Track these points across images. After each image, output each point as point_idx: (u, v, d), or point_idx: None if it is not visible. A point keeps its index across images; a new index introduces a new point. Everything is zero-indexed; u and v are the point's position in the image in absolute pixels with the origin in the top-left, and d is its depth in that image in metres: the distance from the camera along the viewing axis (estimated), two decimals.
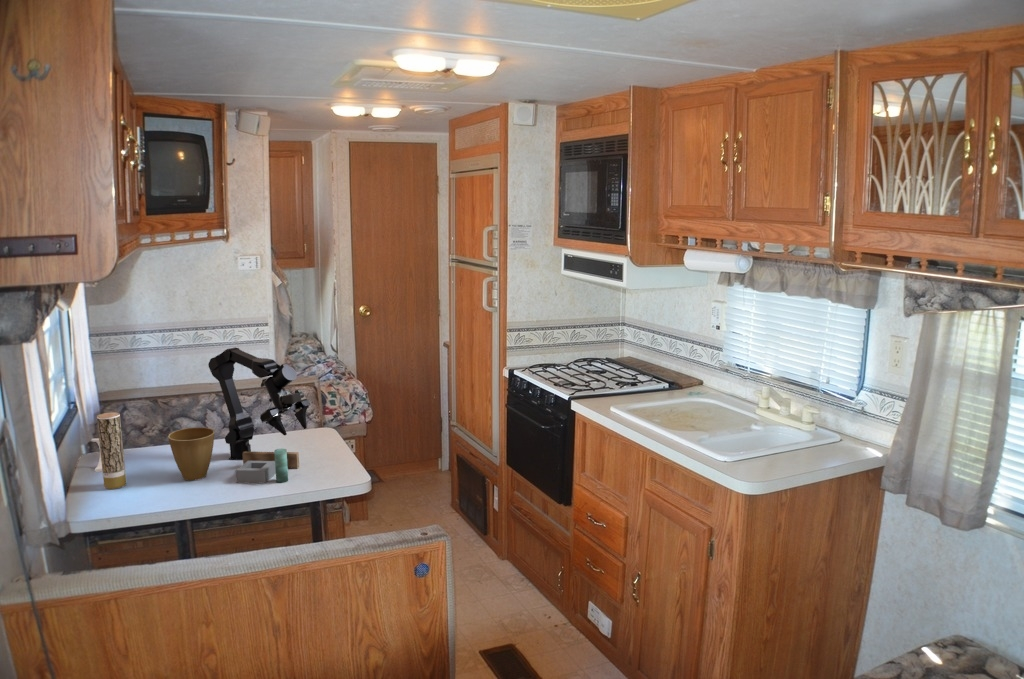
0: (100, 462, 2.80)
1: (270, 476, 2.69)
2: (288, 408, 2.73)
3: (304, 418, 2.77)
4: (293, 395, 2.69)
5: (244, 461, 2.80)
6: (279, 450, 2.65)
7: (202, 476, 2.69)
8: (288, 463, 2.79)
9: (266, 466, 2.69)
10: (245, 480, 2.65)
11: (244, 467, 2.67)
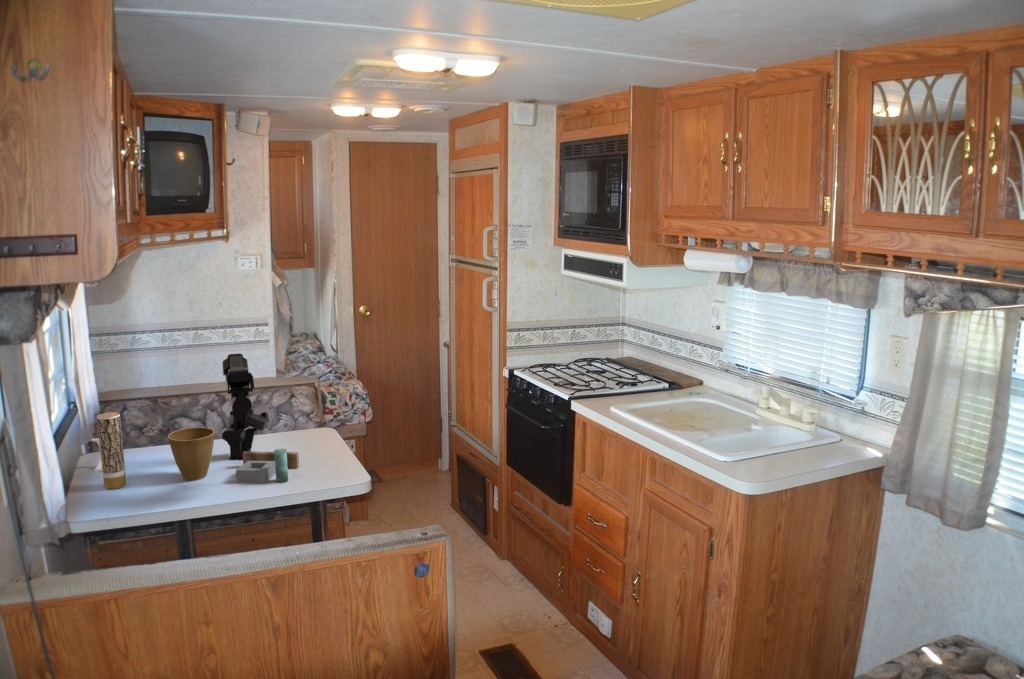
0: (100, 462, 2.80)
1: (270, 476, 2.69)
2: (247, 428, 2.57)
3: (252, 438, 2.62)
4: (265, 422, 2.54)
5: (244, 461, 2.80)
6: (279, 450, 2.65)
7: (202, 476, 2.69)
8: (288, 463, 2.79)
9: (266, 466, 2.69)
10: (245, 480, 2.65)
11: (244, 467, 2.67)
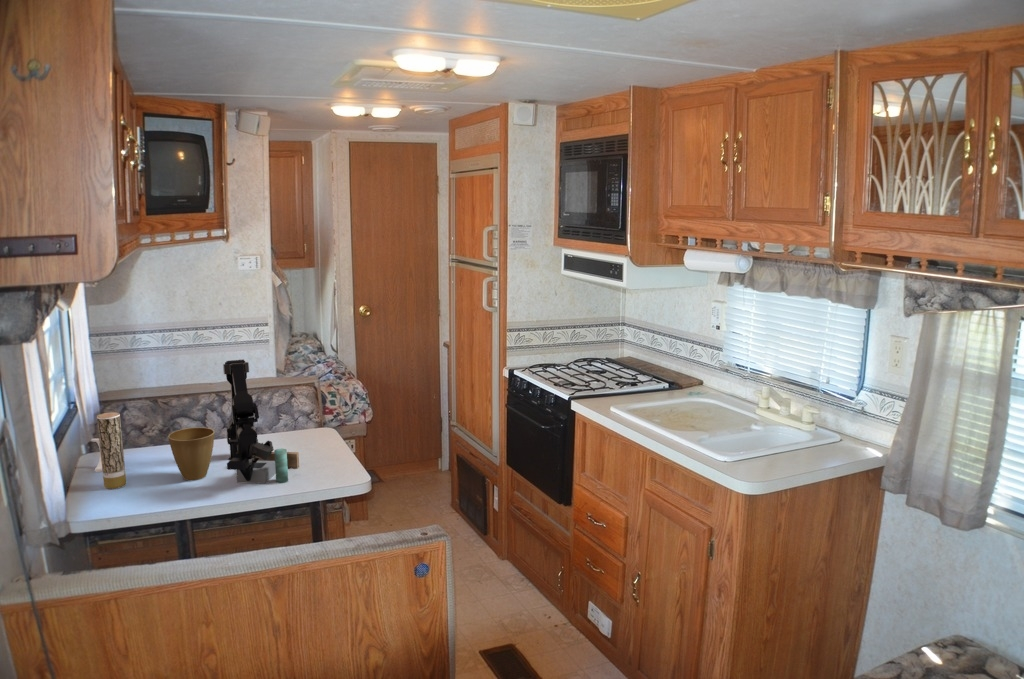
0: (100, 462, 2.80)
1: (270, 476, 2.70)
2: None
3: (251, 470, 2.63)
4: (269, 452, 2.60)
5: None
6: (279, 450, 2.65)
7: (202, 476, 2.69)
8: (288, 463, 2.79)
9: (267, 465, 2.69)
10: (245, 480, 2.65)
11: None
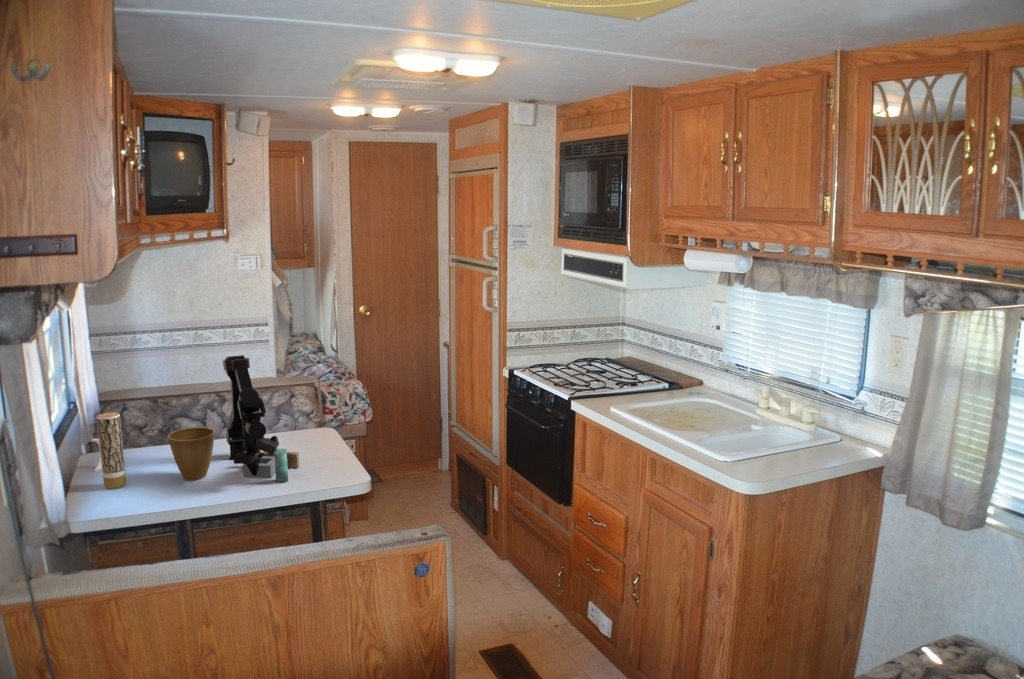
0: (100, 462, 2.80)
1: None
2: None
3: (257, 465, 2.68)
4: (275, 446, 2.65)
5: None
6: (279, 450, 2.65)
7: (202, 476, 2.69)
8: (288, 463, 2.79)
9: (272, 461, 2.74)
10: (251, 475, 2.70)
11: None
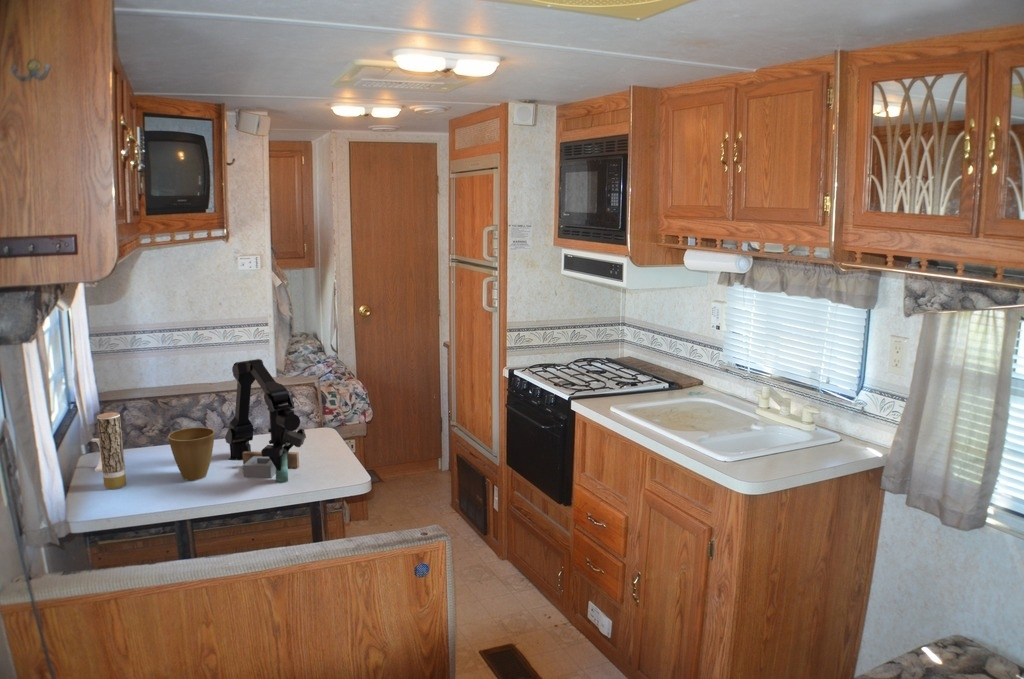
0: (100, 462, 2.80)
1: None
2: None
3: None
4: (302, 439, 2.63)
5: (244, 461, 2.80)
6: None
7: (202, 476, 2.69)
8: (288, 463, 2.79)
9: None
10: (251, 475, 2.70)
11: (250, 462, 2.72)
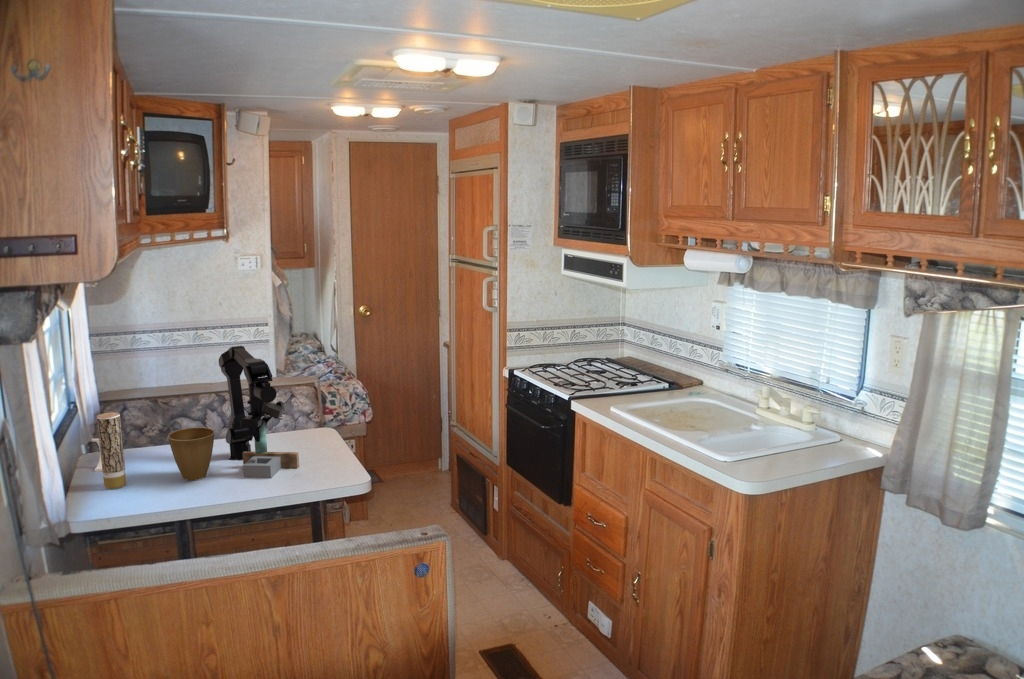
0: (100, 462, 2.80)
1: (276, 471, 2.74)
2: None
3: None
4: (280, 411, 2.69)
5: (244, 461, 2.80)
6: None
7: (202, 476, 2.69)
8: (288, 463, 2.79)
9: (272, 461, 2.74)
10: (251, 475, 2.70)
11: (250, 462, 2.72)
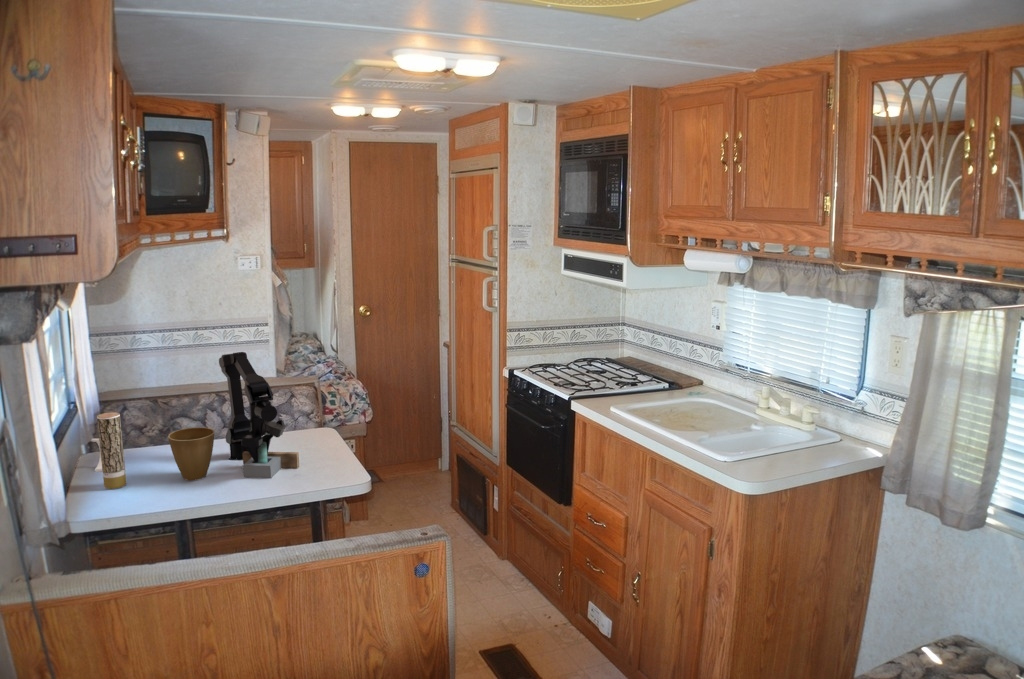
0: (100, 462, 2.80)
1: (276, 471, 2.74)
2: None
3: (268, 444, 2.78)
4: (281, 430, 2.70)
5: (244, 461, 2.80)
6: None
7: (202, 476, 2.69)
8: (288, 463, 2.79)
9: (272, 461, 2.74)
10: (251, 475, 2.70)
11: (250, 462, 2.72)
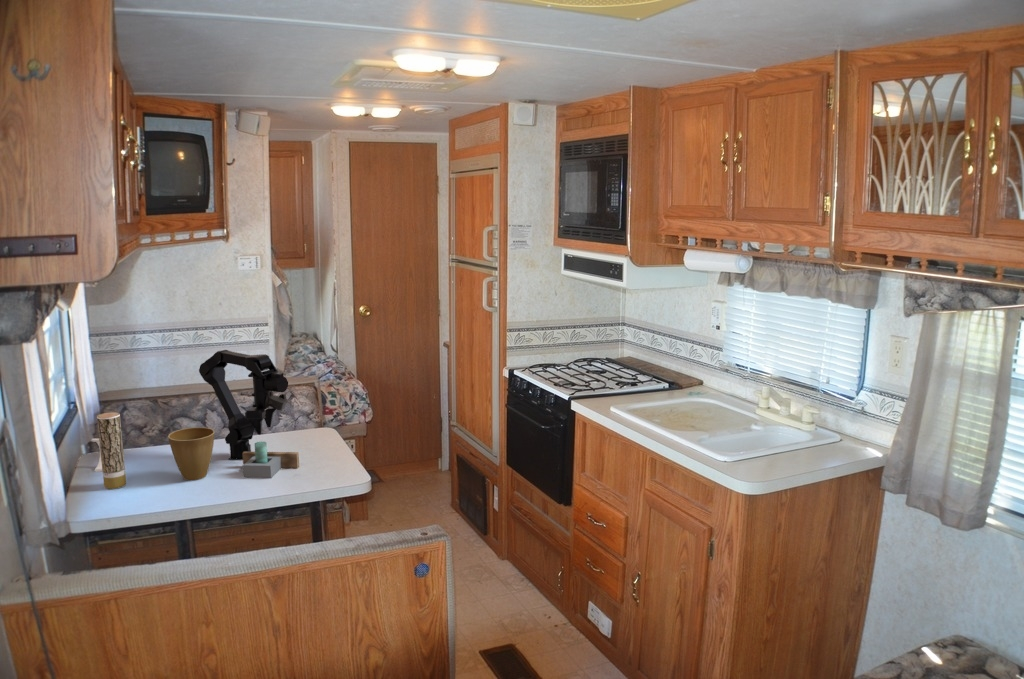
0: (100, 462, 2.80)
1: (276, 471, 2.74)
2: (267, 408, 2.83)
3: (272, 418, 2.89)
4: (283, 403, 2.81)
5: (244, 461, 2.80)
6: (259, 443, 2.73)
7: (202, 476, 2.69)
8: (288, 463, 2.79)
9: (272, 461, 2.74)
10: (251, 475, 2.70)
11: (250, 462, 2.72)
